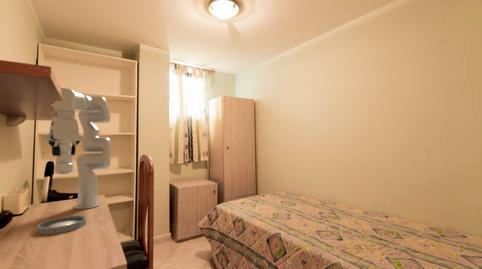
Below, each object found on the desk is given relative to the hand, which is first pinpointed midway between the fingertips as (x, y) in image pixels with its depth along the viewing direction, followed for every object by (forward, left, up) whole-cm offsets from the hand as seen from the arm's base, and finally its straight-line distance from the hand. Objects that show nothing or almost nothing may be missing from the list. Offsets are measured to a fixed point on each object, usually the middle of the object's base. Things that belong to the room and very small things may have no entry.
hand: (64, 154), depth 104 cm
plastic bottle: (0, 0, -9) cm, 9 cm away
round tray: (0, 0, -32) cm, 32 cm away
